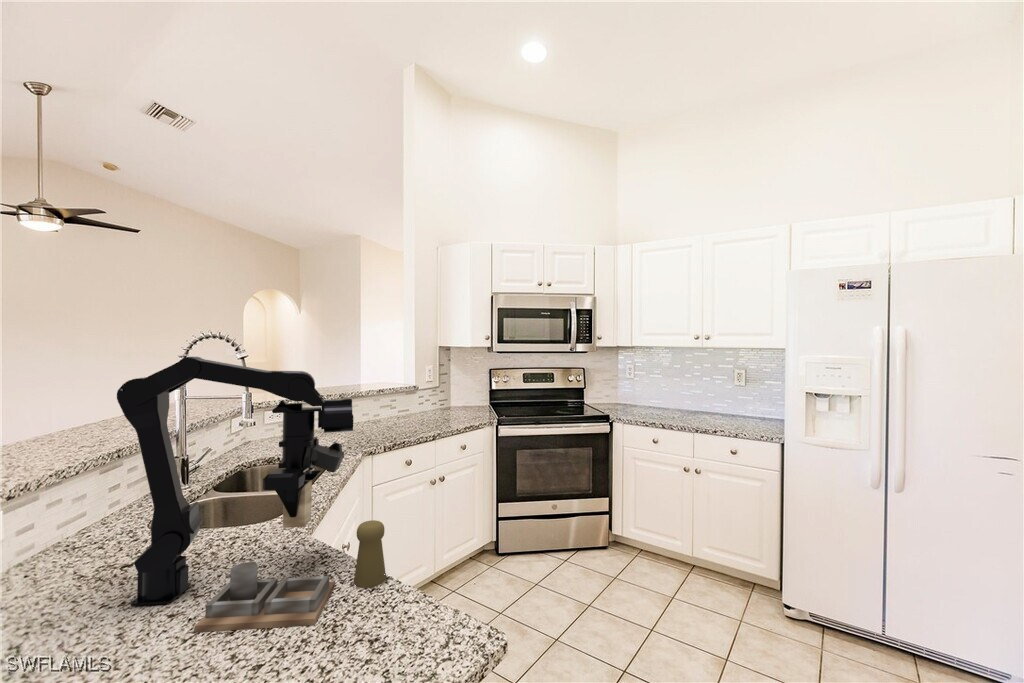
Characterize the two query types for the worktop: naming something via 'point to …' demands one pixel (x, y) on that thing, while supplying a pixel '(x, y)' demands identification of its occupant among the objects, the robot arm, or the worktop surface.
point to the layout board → (265, 601)
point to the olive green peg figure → (370, 555)
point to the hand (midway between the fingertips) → (297, 513)
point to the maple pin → (300, 509)
